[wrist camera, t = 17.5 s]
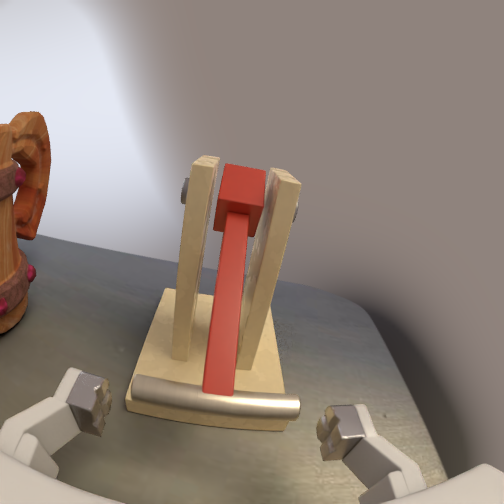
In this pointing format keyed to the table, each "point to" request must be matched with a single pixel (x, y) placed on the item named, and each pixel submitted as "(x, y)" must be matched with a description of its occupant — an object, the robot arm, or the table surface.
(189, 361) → the wooden lever stand
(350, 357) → the table surface
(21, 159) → the mug
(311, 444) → the table surface
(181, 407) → the lever
